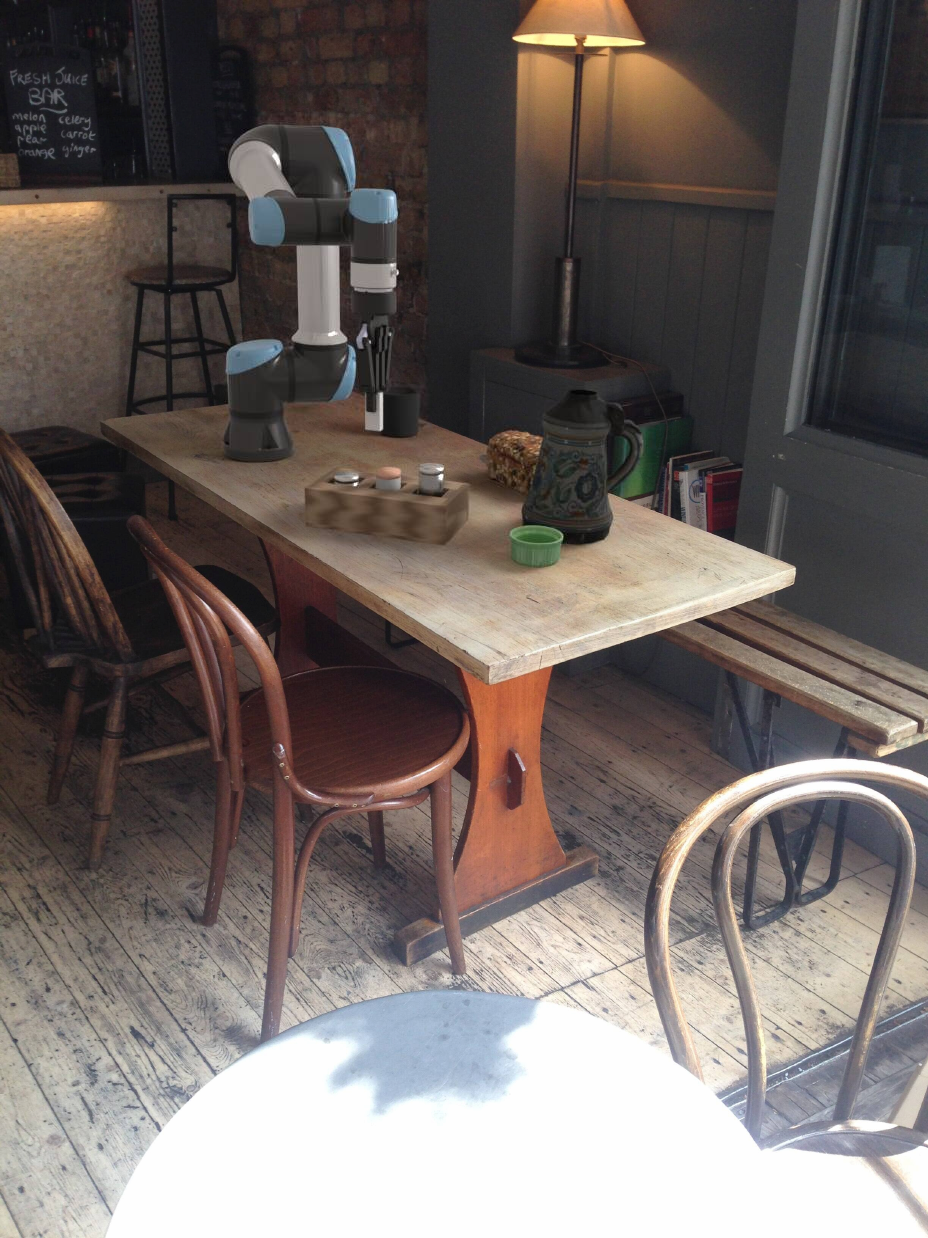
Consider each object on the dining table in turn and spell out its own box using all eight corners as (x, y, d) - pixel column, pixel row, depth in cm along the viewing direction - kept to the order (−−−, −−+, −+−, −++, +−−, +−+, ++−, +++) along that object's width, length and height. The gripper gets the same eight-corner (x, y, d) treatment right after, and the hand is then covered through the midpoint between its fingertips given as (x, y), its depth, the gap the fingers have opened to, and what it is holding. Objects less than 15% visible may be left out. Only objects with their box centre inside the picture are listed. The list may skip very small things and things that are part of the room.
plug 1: (330, 511, 197) (330, 476, 195) (340, 504, 201) (340, 470, 199) (353, 514, 196) (353, 479, 194) (362, 507, 200) (362, 473, 197)
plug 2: (414, 504, 192) (415, 468, 189) (422, 496, 196) (423, 461, 193) (438, 507, 191) (439, 471, 188) (446, 500, 195) (447, 464, 192)
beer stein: (506, 519, 202) (513, 383, 191) (600, 510, 208) (612, 378, 198) (543, 549, 188) (553, 405, 177) (643, 539, 194) (658, 399, 184)
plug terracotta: (372, 507, 195) (372, 472, 192) (381, 500, 198) (381, 465, 196) (395, 510, 193) (395, 475, 191) (403, 503, 197) (404, 468, 195)
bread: (484, 478, 225) (486, 430, 221) (524, 471, 231) (527, 424, 227) (540, 503, 211) (543, 452, 207) (582, 495, 217) (586, 445, 213)
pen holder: (426, 431, 257) (427, 389, 253) (407, 440, 249) (408, 396, 245) (391, 426, 261) (391, 384, 256) (371, 434, 253) (371, 391, 249)
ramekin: (529, 545, 190) (530, 521, 188) (572, 558, 184) (574, 534, 183) (497, 559, 183) (498, 534, 181) (540, 573, 178) (542, 547, 176)
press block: (305, 525, 194) (304, 487, 192) (336, 502, 207) (336, 466, 204) (444, 545, 188) (445, 506, 185) (468, 520, 200) (469, 483, 197)
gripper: (379, 294, 174) (379, 440, 184) (409, 286, 186) (407, 423, 195) (336, 291, 176) (338, 435, 186) (368, 283, 188) (368, 419, 197)
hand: (374, 429), depth 190 cm, fingers closed
